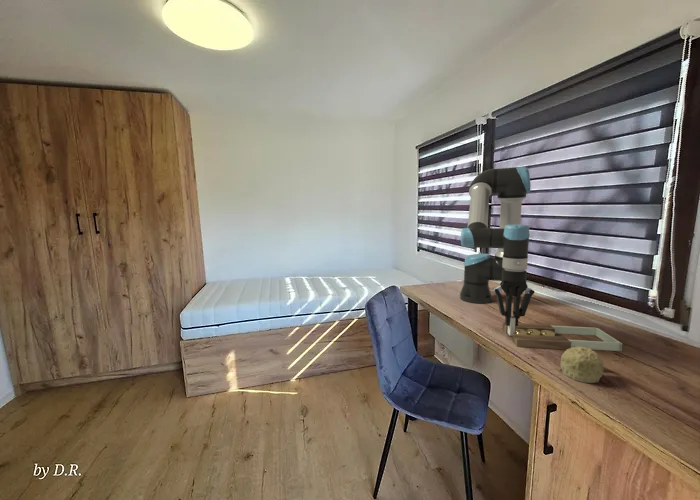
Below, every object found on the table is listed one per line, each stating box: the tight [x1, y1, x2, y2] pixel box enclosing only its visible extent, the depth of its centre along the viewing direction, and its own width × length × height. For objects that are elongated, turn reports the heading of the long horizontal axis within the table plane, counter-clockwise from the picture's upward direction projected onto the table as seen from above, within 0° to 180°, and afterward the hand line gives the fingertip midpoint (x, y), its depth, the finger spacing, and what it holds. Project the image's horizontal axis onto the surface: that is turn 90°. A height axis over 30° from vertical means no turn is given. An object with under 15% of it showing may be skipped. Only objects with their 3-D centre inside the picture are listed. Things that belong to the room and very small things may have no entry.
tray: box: [551, 325, 623, 352], centre depth 101 cm, size 13×15×4 cm
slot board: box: [501, 321, 571, 351], centre depth 104 cm, size 15×16×4 cm
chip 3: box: [541, 330, 556, 336], centre depth 103 cm, size 4×4×2 cm
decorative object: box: [560, 346, 604, 384], centre depth 83 cm, size 9×10×10 cm
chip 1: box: [515, 329, 527, 335], centre depth 104 cm, size 4×4×2 cm
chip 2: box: [527, 329, 541, 335], centre depth 104 cm, size 4×4×2 cm
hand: (510, 334), depth 105 cm, fingers closed
